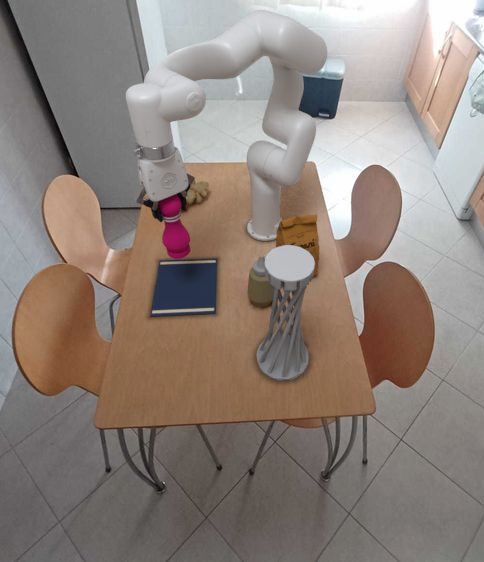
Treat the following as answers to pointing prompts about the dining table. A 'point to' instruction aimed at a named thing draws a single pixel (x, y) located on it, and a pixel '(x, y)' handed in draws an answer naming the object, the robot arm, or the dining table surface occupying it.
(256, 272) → the squeeze bottle
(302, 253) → the twisted lattice pedestal
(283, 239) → the coffee package
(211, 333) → the dining table surface
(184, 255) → the pepper mill
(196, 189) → the ginger root
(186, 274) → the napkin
